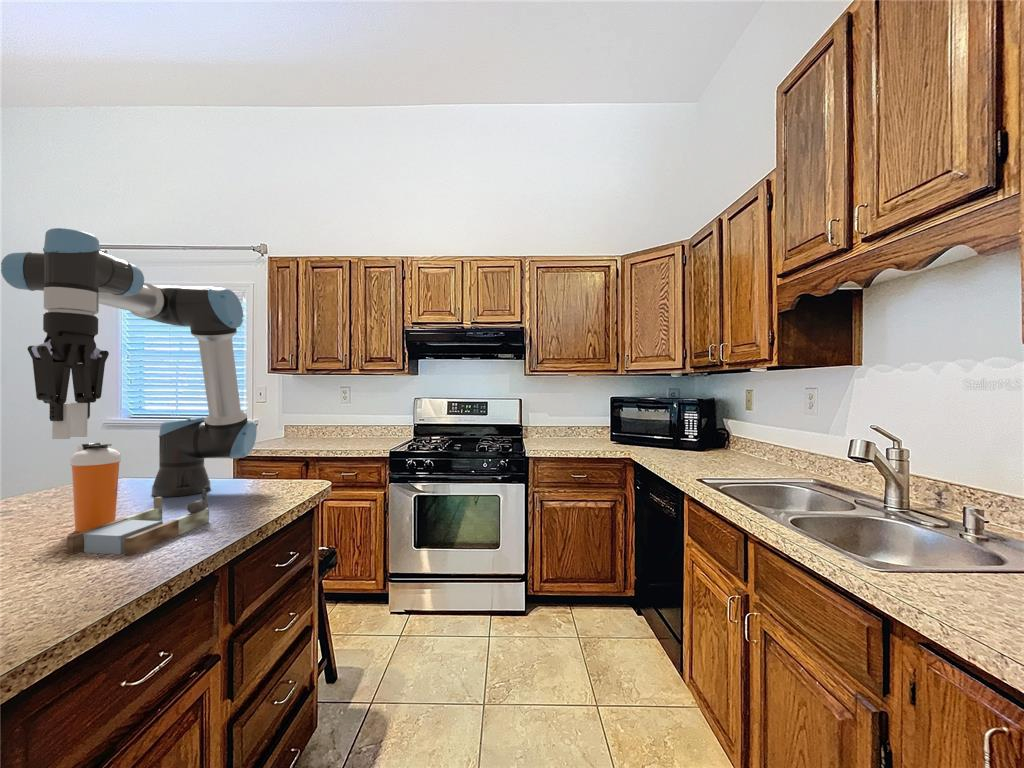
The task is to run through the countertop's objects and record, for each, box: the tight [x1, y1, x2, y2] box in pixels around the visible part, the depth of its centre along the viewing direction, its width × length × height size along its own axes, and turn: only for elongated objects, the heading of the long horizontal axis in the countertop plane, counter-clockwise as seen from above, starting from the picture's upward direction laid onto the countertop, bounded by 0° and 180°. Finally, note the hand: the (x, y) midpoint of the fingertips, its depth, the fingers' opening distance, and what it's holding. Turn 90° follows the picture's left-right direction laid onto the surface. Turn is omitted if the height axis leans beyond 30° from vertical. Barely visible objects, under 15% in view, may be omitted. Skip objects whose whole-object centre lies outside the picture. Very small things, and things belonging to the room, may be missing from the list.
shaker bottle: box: [70, 442, 122, 533], centre depth 109 cm, size 9×9×20 cm
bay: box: [66, 486, 211, 557], centre depth 104 cm, size 23×14×9 cm, turn 178°
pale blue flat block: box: [83, 519, 164, 555], centre depth 99 cm, size 10×8×4 cm
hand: (70, 437), depth 87 cm, fingers open, 3 cm apart
